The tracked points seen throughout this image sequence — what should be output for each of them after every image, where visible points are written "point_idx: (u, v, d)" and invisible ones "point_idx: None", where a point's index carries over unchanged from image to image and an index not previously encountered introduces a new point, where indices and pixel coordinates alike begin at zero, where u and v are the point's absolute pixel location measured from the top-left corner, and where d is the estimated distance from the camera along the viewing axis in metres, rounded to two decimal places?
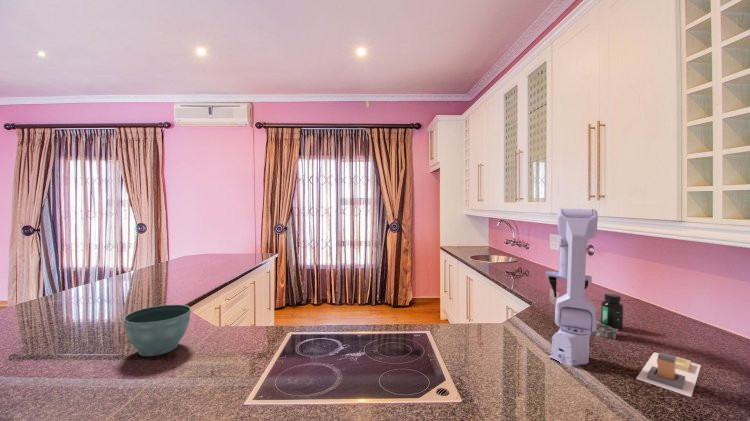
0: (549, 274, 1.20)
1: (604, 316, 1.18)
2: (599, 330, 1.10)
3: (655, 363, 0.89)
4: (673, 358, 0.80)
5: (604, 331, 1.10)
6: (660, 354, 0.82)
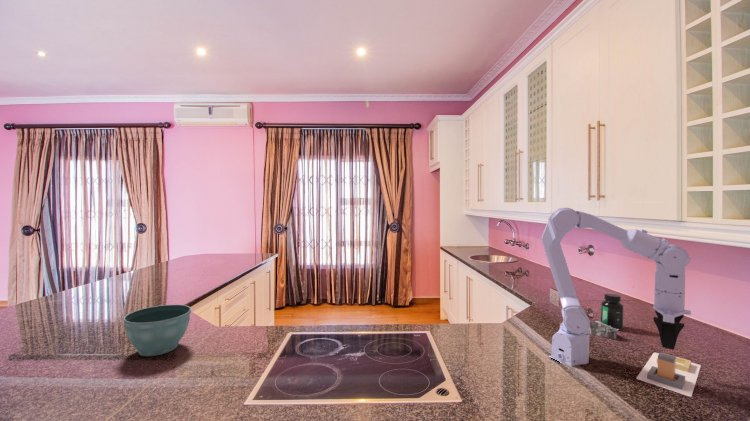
0: None
1: (604, 316, 1.18)
2: (600, 330, 1.11)
3: (655, 363, 0.89)
4: (673, 358, 0.80)
5: (605, 331, 1.10)
6: (660, 354, 0.82)
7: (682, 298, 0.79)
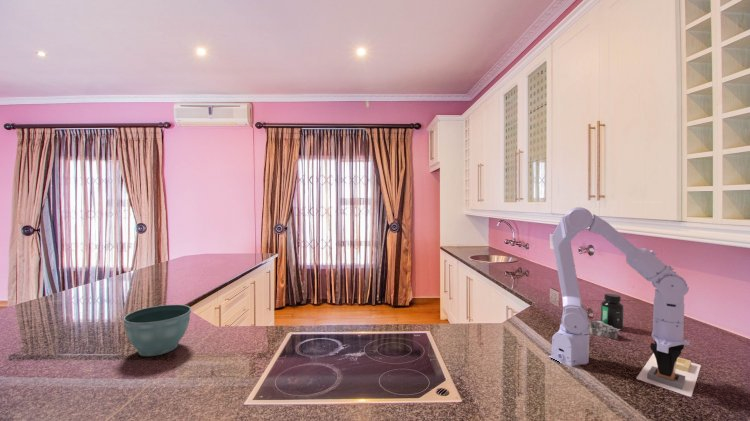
0: None
1: (604, 316, 1.18)
2: (601, 330, 1.11)
3: (655, 363, 0.89)
4: None
5: (606, 331, 1.10)
6: None
7: (680, 327, 0.78)
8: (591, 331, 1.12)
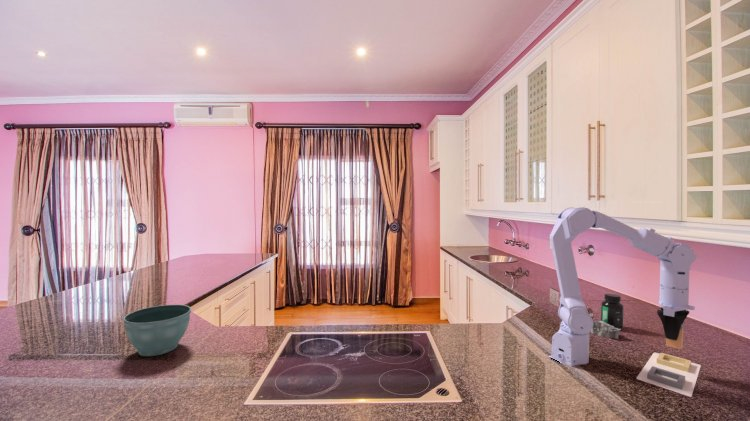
0: None
1: (604, 316, 1.18)
2: (602, 329, 1.11)
3: (655, 363, 0.89)
4: (681, 325, 0.84)
5: (607, 331, 1.10)
6: None
7: (685, 293, 0.83)
8: (592, 331, 1.12)
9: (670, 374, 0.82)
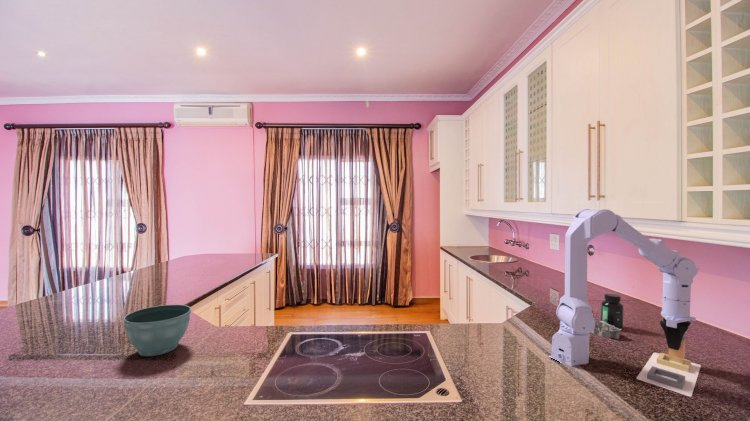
0: None
1: (604, 316, 1.18)
2: (602, 329, 1.11)
3: (655, 363, 0.89)
4: (683, 336, 0.88)
5: (607, 330, 1.10)
6: None
7: (687, 305, 0.86)
8: (593, 331, 1.13)
9: (670, 374, 0.82)
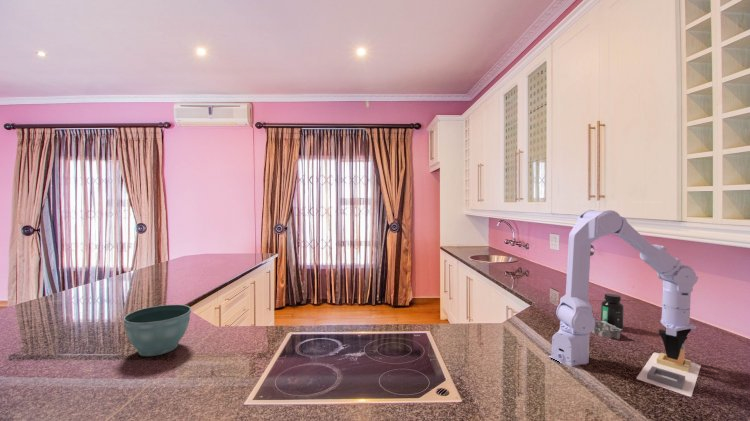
0: None
1: (604, 316, 1.18)
2: (603, 329, 1.11)
3: (655, 363, 0.89)
4: (682, 345, 0.88)
5: (608, 330, 1.10)
6: None
7: (687, 313, 0.86)
8: (593, 330, 1.13)
9: (670, 374, 0.82)
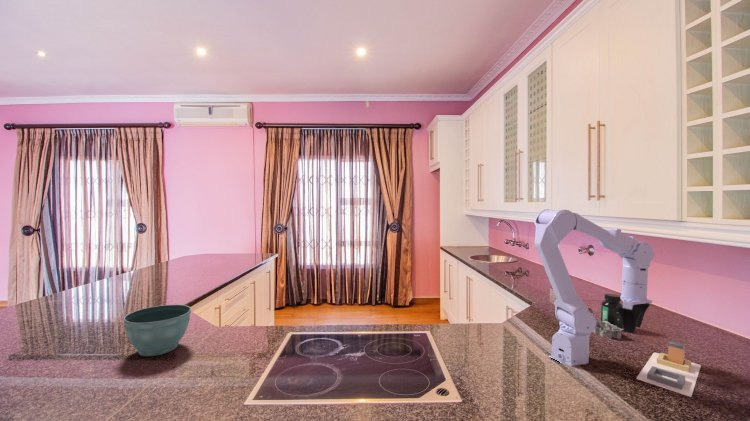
0: None
1: (604, 316, 1.18)
2: (604, 329, 1.11)
3: (655, 363, 0.89)
4: (682, 345, 0.88)
5: (609, 330, 1.11)
6: (670, 341, 0.90)
7: (644, 288, 0.89)
8: (594, 330, 1.13)
9: (670, 374, 0.82)
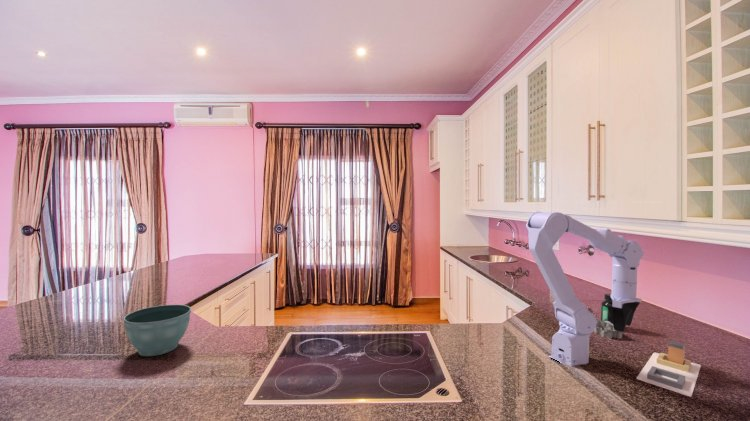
0: None
1: (604, 316, 1.18)
2: (605, 329, 1.12)
3: (655, 363, 0.89)
4: (682, 345, 0.88)
5: (610, 330, 1.11)
6: (670, 341, 0.90)
7: (633, 287, 0.90)
8: (595, 330, 1.13)
9: (670, 374, 0.82)
